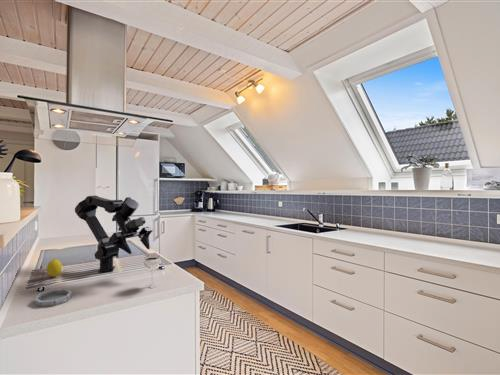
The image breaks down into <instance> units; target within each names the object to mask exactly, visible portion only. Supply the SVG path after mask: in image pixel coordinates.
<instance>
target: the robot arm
mask: <svg viewBox="0 0 500 375" xmlns="http://www.w3.org/2000/svg"><path fill="white" fill-rule="evenodd" d="M98 207H99V208H103V209H104V211H105V212H107V213H108V214H113V215H112V218H111V221H112V222H116V224H117V226H118V228H117V230H118V231H117V232H112V235H111V236H108V234H107V232H106V231H105V229H104V227H103V226H102V225H101V222H100V221H99V219H98V217H97V216H96V213H97V209H98ZM138 208H139V202H138V201H136V200H135V199H133V198H131V197H130V196H128V197H125V198H124V200H123V199H107V198H105V197H100V196H98V195H88V196H86V197H85V198H84V199H83V200H82V201H79V202H78V203H77V205H76V206H75V208H74V212H75V214H76V216H77V217H78V218H79V219H81V220H83V221H85V223H86V224H87V226H88V228H89V230H90V231H91V233H92V234H93V236H94V238H95V240H96V241H97V247H96V248H97V250H96V251H95V253H94V257H95V260H99V268H98V270H97V273H109V272H108V271H112V272H114V270H115V268H116V266H114V257H117V256H118V255H119V252H120V249H121V250H122V251H123V252H126V253H127V254H129V255H132V254H133V252H132V250H131V248H130V246H129V244H128V243H127V242H128V241H127V239H130V238H136V237H138V238H139V241H140V242H141V243H142V245H143V246H144V247H145V248H146V249H147V250H150V249H151V247H150V246H151V245H150V235H151V234H152V232H153V229H152V227H151V226H145V227H143V226H144V225H145V224H146V222H147V221H146V219H145V217H144V216H140V217H138V218H135V219H131V216H133V214H134V213H135V212H136V210H137V209H138ZM140 227H141V228H140ZM139 229H140V230H139Z"/></svg>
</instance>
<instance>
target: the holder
mask: <svg viewBox="0 0 500 375" xmlns="http://www.w3.org/2000/svg"><path fill="white" fill-rule="evenodd" d="M72 294H73V292H72V291H71V290H69V289H67V288H60V289H59V288H58V289H57V288H56V289H50V290H47V291H45V292H42V293H38V294H37V295H36V296H35V298H34V299H33V303H34V305H35V306H36V307H39V308H49V307H55V306H58V305H63V304H65V303H67V302H68V301H69V300H71V298H72Z"/></svg>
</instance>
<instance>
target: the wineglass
mask: <svg viewBox="0 0 500 375" xmlns="http://www.w3.org/2000/svg"><path fill="white" fill-rule="evenodd" d="M161 258H162V256H160V255H155V254H154V255H153V254H151V255H147V256H145V257H144V261H143V265H144V268H146V269H147V271H148V270H149V271H150V272H151V283H148V284H147V285H146V286H145V287H146V288H147V289H155V288H158V287H159V284H158V283H154V271H155V270H157V269H158V268H159V267H161V263H162V260H161ZM154 287H155V288H154Z"/></svg>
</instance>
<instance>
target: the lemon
mask: <svg viewBox="0 0 500 375" xmlns="http://www.w3.org/2000/svg"><path fill="white" fill-rule="evenodd" d="M46 266H47V267H46V273H47V274H48V275H49V276H50V277H53V278H55V277H57V276H58V275H59V274H60V273H61V272H62V269H63V266H62V262H61V261H60V260H58V259H56V258H55V259H52V260H50V261H49V262H48V263H47V265H46Z"/></svg>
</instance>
